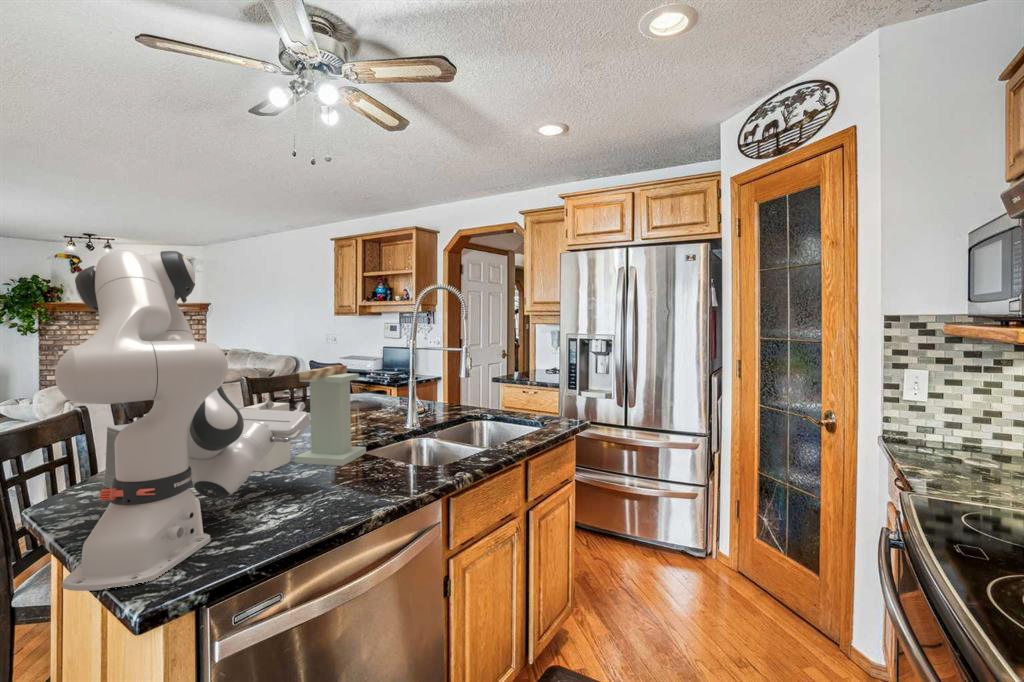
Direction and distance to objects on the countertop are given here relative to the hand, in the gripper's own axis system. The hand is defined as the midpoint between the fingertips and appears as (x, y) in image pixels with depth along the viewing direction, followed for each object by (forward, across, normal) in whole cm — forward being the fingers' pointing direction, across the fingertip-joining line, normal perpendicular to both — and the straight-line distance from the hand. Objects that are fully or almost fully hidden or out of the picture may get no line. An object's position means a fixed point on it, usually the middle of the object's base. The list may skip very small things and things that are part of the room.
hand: (286, 403), depth 129 cm
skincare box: (-21, +37, +12) cm, 45 cm away
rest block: (-2, +14, +23) cm, 27 cm away
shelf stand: (+8, 0, +29) cm, 30 cm away
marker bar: (+17, 0, +4) cm, 17 cm away
